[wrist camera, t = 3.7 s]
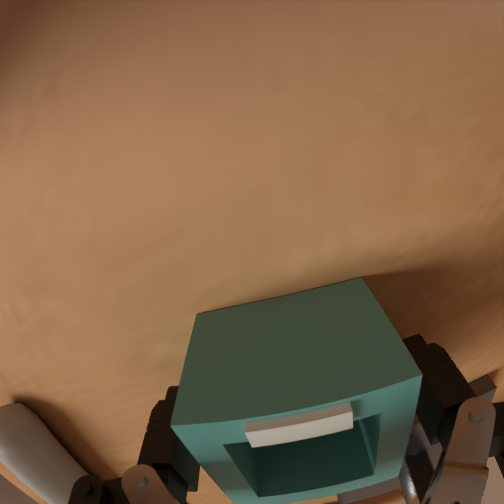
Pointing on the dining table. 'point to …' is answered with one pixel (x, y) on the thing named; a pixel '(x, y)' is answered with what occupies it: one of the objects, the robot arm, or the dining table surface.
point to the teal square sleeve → (297, 395)
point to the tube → (36, 455)
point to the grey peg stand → (415, 460)
